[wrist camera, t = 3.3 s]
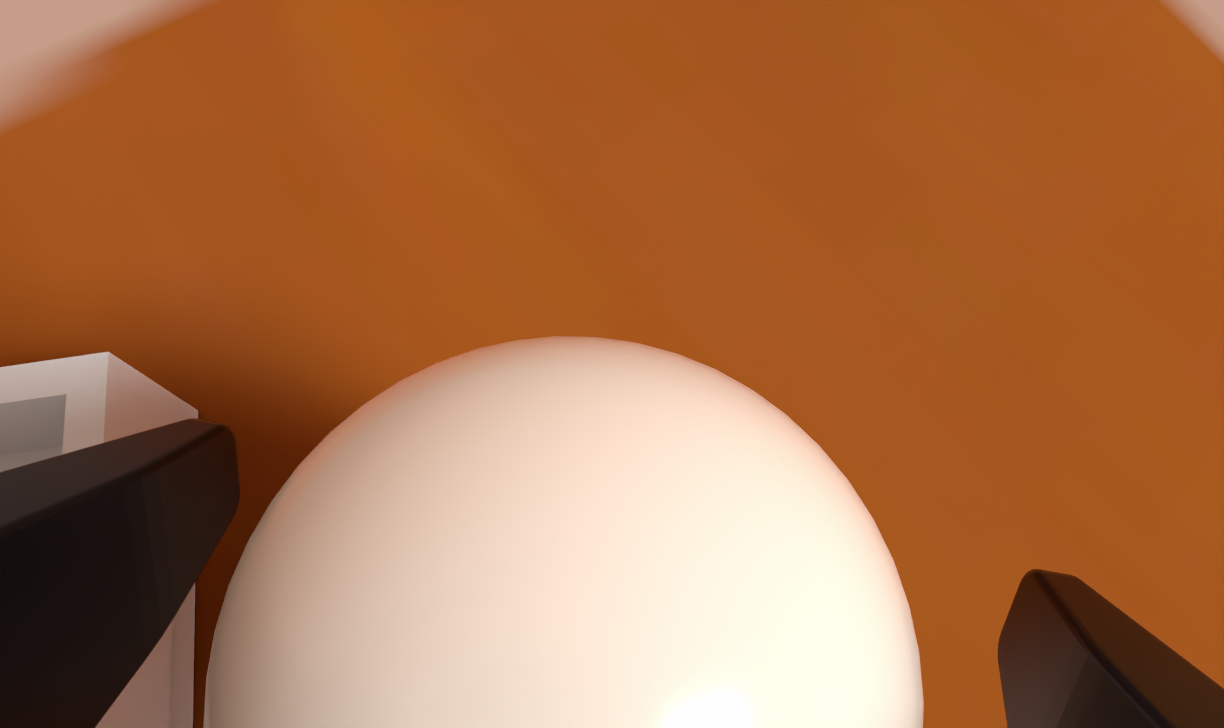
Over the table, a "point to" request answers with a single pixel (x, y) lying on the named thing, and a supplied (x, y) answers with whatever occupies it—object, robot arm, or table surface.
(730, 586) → the cream tall rounded piece
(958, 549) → the table surface
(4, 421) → the white compartment tray
